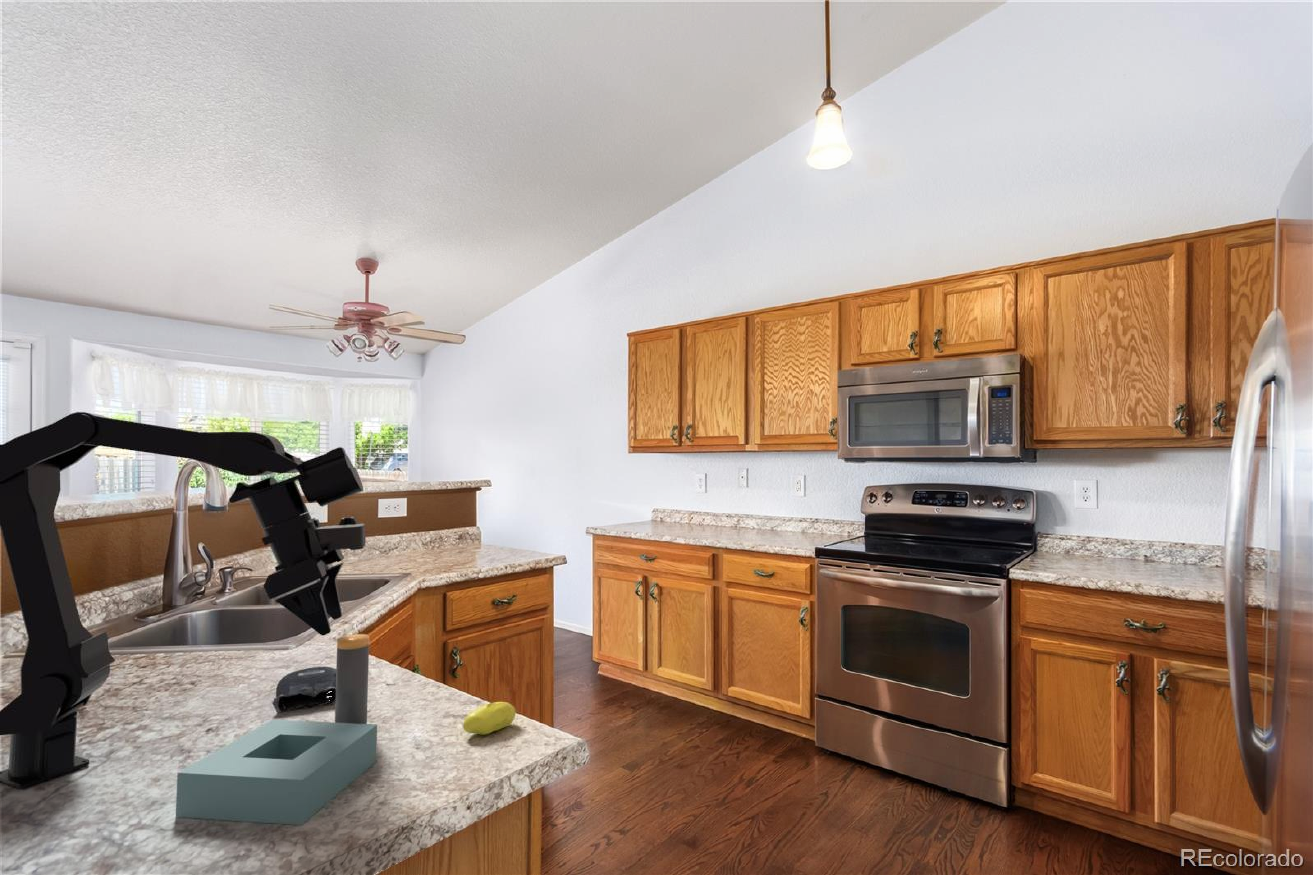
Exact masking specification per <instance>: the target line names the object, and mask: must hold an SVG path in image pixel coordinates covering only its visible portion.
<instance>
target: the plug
mask: <svg viewBox="0 0 1313 875" xmlns="http://www.w3.org/2000/svg"><path fill="white" fill-rule="evenodd" d="M336 640H337V641H336V668H335V669H336V697H335V701H334V703H335V705H334V723H355V724H368V699H369V698H368V696H369V693H368V692H369V691H368V690H369V667H370V666H369V660H370V658H369V656H370V635H368V634H365V633H364V634H363V633H359V634H358V633H357V634H349V635H342V636H340V637H339V638H337V639H336Z"/></svg>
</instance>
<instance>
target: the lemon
mask: <svg viewBox="0 0 1313 875" xmlns="http://www.w3.org/2000/svg"><path fill="white" fill-rule="evenodd" d="M515 718H516V708H515V707H514V706H513V705H512V704H510V702H506V701H495V702H490V703H488V704H487V703H486V704H484V705H482V706H480V707H478V708H476V709H475V710H473V711H472V712H470V713H469V714H467V716H466V717H465V719H464V721H463V723H462V728H463V730H464V731H465V732H466V733H468V734H477V735H483V736H484V735H488V734H491V733H493V732H496V731H499V730H501V729H503V728H506V727H508V726H510V725H512V723H513V722H514V720H515Z"/></svg>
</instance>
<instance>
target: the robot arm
mask: <svg viewBox="0 0 1313 875" xmlns="http://www.w3.org/2000/svg"><path fill="white" fill-rule="evenodd" d="M99 447H106V448H113V449H120V450H126V451H134V452H141V453H148V454H153V455H154V454H155V455H161V456H169V457H176V458H182V459H189V460H194V461H198V462H200V463H204V464H207V465H209V466H212V467H214V468H217V469H221V470H224V471H227V472H231V473H234V474H238V475H241V476H245V477H254V476H255V477H257V476H259V477H261V476H268V475H271V474H274V473H275V474H297V473H299V474H297V475H294V476H292V477H289V478H287V479H283V480H281V481H278V480H277V479H276V478H274V477H273V476H269V477H267V478H265V479H261V480H259V481H256V482H253V483H251V484H249V483H247V482H244V481H240V482H237V483H236V484H235V489H234V490H233V492H232V494H231V496H230V497H229V499H228V502H229V503H230V504H235V503H242V502H244V501H247V500H248V501H249V502H250V505H251V507H252V509H253V511H254V514H255V516H256V518H257V520H258V523H259V525H260V527H261V529H262V531H263V533H264V537H262V538H261V540H262V543H263V545H264V546H267V545H269V547H270V550H271V551H272V554H273V555H274V559H275V560H276V563H277V564H278V565H276V566H274V569H275V571H274V572H272V573H270V574H269V575H267V578H266V580H265V582H264V584H263V588H264V590H265V593H266V595H267V597H268V599H269V600H273V599H274V602H275V603H276V604H280V606H282V607H284V608H285V609H287V610H288V611H289V612H290V613H292V614H294V616H296V617H297V618H299V619H300V620H301V621H303V622H304V623H305V624H306V625H307V626H309V628H312V630H314V631H315V632H316V633H318V634H319V635H320V636H322V637H324V636H326V635H328V634H330V633H331V632H332V631H331V624H330V620H329V616H330V618H332V619H333V620H337V619H339V618H342V615H343V614H342V608H341V607H342V606H341V601H340V594H339V588H338V581H337V580H338V579H337V578H338V575H339V574H340V571H341V569H342V567H343V566H344V562H343V560H344V559H345V557H344V554H343V553H342V550H350V551H356V550H362V549H364V547H366V545H367V544H366V542H367V541H366V533H367V530H366V524H365V523H362V522H361V523H359V522H358V521H357V519H356V517H355V516H348V517H347V516H346V517H342V518H341V519H340V521H339V523H338V524H337V525H336V524H335V525H334V524H333V525H328V526H326V525H325V526H322V525H321V523H320V520H319V519H316V518H315V517H313V518H312V516H311V514H310V512H309V509H308V507H307V505H306V503H305V501H304V498H303V496H302V494H303V495H304V497H305V499H306V500H307V502H308V503H309V504H312V503H315V502H316V503H317V504H318V505H319V506H320V507H321V508H322V507H326V506H327V505H330V504H333V503H336V502H338V501H341V500H343V499H345V498H348V497H351V496H353V495H356V494H359V493H360V492H363V491H364V486H363V483H362V480H361V477H360V474H359V472H358V470H357V467H354V465H353V463H352V461H351V459H350V458H349V456H348V454H347V453H346V450H345V449H344V447H340V446H339V447H336V448H333V449H331V450H329V451H328V452H326V453H324V454H321V455H318V456H316V457H312V458H310V459H307V460H302V459H301V457H296V456H294V455H292V454H290V453H289V452H287V451H285V448H284V445H283V444H282V442H281V441H280V440H279V439H278V438H277V437H274V436H273V435H270V434H266V433H260V432H256V431H255V432H253V431H194V430H189V429H188V430H187V429H181V428H174V427H169V426H161V425H155V424H149V423H142V422H137V421H129V420H123V419H118V418H111V417H107V416H104V415H103V414H99V413H92V412H86V411H76V412H72V413H70V414H68V415H66V416H64V417H62V418H61V419H59V420H56V421H55V422H53V423H51V424H49V425H48V424H47V425H45V426H43V427H40V428H37V429H35V430H32V431H29V432H27V433H24V434H21V435H19V436H17V437H14V438H13V439H10V440H8V441H7V442H5V443H1V444H0V532H1V536H2V541H3V545H4V548H5V552H6V556H7V561H8V565H9V568H10V571H11V572H10V573H11V577H12V580H13V584H14V587H15V588H14V589H15V592H16V595H17V599H18V603H19V608H20V612H21V615H22V620H23V622H24V623H23V624H24V628H25V632H26V636H27V645H26V648H25V652H24V655H23V658H22V662H21V666H20V670H19V671H20V694H19V695H18V696H17V697H15V698H14V699H12V701H10V702H9V703H8V704H7V705H5V706H4V707H3V708H2V709H1V710H0V736H8V735H10V738H9V753H8V768H7V769H3V770H1V771H0V781H1V783H4V784H6V785H10V786H13V787H15V788H19V789H25V788H29V787H31V786H35V785H37V784H39V783H42V782H44V781H47V780H50V779H53V778H55V777H59V776H61V775H64V774H66V773H67V774H68V773H69V772H72V771H75V770H78V769H80V768H83V767H87V766H88V765H90V761H91V760H90V759H89V758H86V757H82V756H79V755H76V747H77V746H76V745H77V727H78V726H77V725H78V712H77V710H79V709H80V708H83V707H84V706H87V704H89V701H90V699H91V697H92V695H93V693H95V692H96V691H97V690H99V689H100V688H101V687H103V686H104V684H105V683H106V681H107V679H108V678H109V677H110V673H111V664H113V663H115V661H116V659H115V658H114V656H112V654H111V652H110V649H109V637H108V633H107V632H106V631H103V632H100V633H97V634H96V635H92V633H91V632H90V631H88V629H87V628H86V627H85V626H84V625H83V624H82V622H81V618H80V614H79V610H78V605H77V603H76V598H75V595H74V590H73V586H72V582H71V579H70V575H69V570H68V566H67V562H66V559H65V558H66V557H65V554H64V551H63V545H62V543H61V539H60V534H59V530H58V527H57V522H56V519H55V509H56V506H57V503H58V500H59V496H60V493H61V472H63V471H65V470H66V469H68V468H69V467H71V466H73V465H75V464H77V463H78V462H79V461H80V460H82V459H83V458H85V456H87V455H88V454H90V452H91V451H93V450H94V449H96V448H99ZM296 482H298V484H299V486H300V489H301V491H302V494H301V492H300V489H299V487H298V485H297V483H296ZM333 563H337V564H335V565H333Z"/></svg>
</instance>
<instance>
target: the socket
mask: <svg viewBox="0 0 1313 875" xmlns="http://www.w3.org/2000/svg"><path fill="white" fill-rule="evenodd" d="M377 745H378V724H373V723H370V724H369V723H367V724H355V723H335V721H334V722H330V721H310V720H309V721H308V720H307V721H306V720H291V719H290V720H288V719H271V720H270V721H268V722H266V723H264V724H262V725H261V726H259V727H256V728H255V729H253V730H251V731H250V732H248V733H246V734H244V735H242V736H240V737H239V738H237V739H235V740H234V741H232V742H230V743H228V744H227V745H225V746H223V747H221V748H219V749H217V750H216V751H213V752H212V753H210V754H209V755H208V754H207V756H205V757H203V758H201V759H200V760H198V761H196V762H194V763H192V764H191V765H188V766H187V767H185V768H183V769H181V770H180V771H178V772H177V779H176V796H175V797H176V800H175V818H186V819H187V818H188V819H189V818H190V819H201V820H202V819H203V820H217V821H233V822H249V823H262V824H263V823H264V824H280V825H281V824H282V825H294V826H295V825H296V826H302V825H303V824H305V823H306V822H307V821H308V820H309V819H310V818H312V817H313V816H314V815H315V814H317V813H318V812H319V811H320V810H321V809H323V807H325V806H326V805H327V804H328V803H329V802H331V800H333V799H334V798H335V797H337V796H338V795H339V794H340V793H341V792H342V791H344V789H346V788H347V787H348V786H349V785H351V784H352V783H353V782H354V781H355V780H357V778H359V776H361V775H362V774H363V773H365V772H366V771H367V770H368V769H369V768H371V766H373V765H374V764H375V763H376V762H377V752H378V751H377V749H378V748H377V747H378V746H377Z"/></svg>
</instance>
